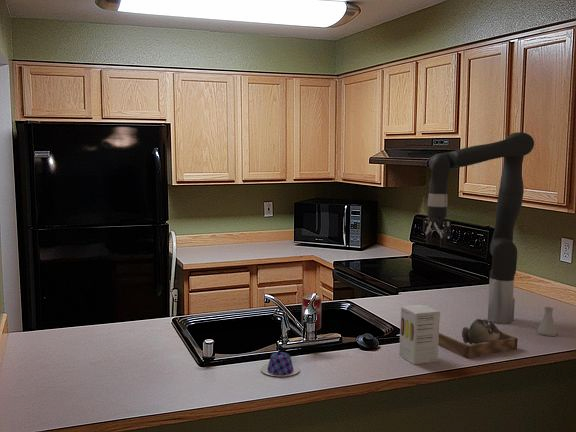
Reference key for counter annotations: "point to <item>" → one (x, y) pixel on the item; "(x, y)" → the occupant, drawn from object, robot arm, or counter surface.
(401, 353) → the supplement box
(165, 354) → the counter surface
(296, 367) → the pudding
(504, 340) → the frame
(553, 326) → the flask
